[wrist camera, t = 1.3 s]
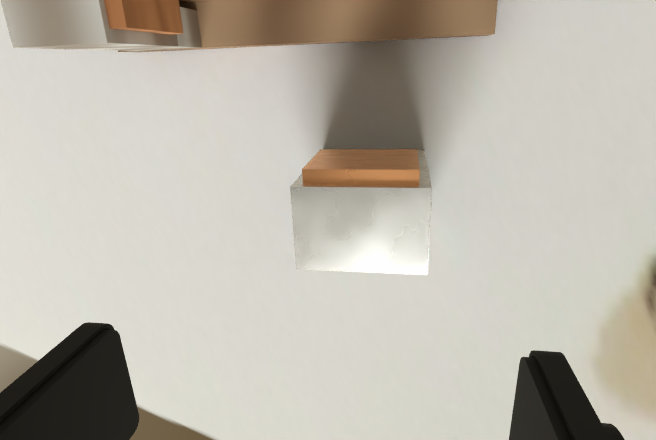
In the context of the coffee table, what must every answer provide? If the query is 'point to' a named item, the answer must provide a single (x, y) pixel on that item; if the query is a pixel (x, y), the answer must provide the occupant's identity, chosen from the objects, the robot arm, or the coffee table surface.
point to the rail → (237, 22)
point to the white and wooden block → (363, 211)
